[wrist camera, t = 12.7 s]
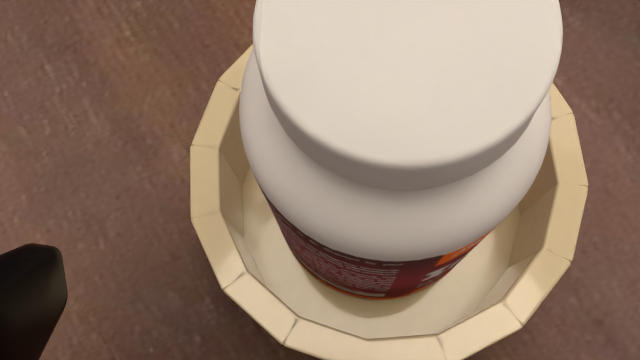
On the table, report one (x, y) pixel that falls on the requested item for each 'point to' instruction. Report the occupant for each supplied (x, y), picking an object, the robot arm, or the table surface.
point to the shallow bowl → (388, 315)
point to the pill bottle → (396, 129)
